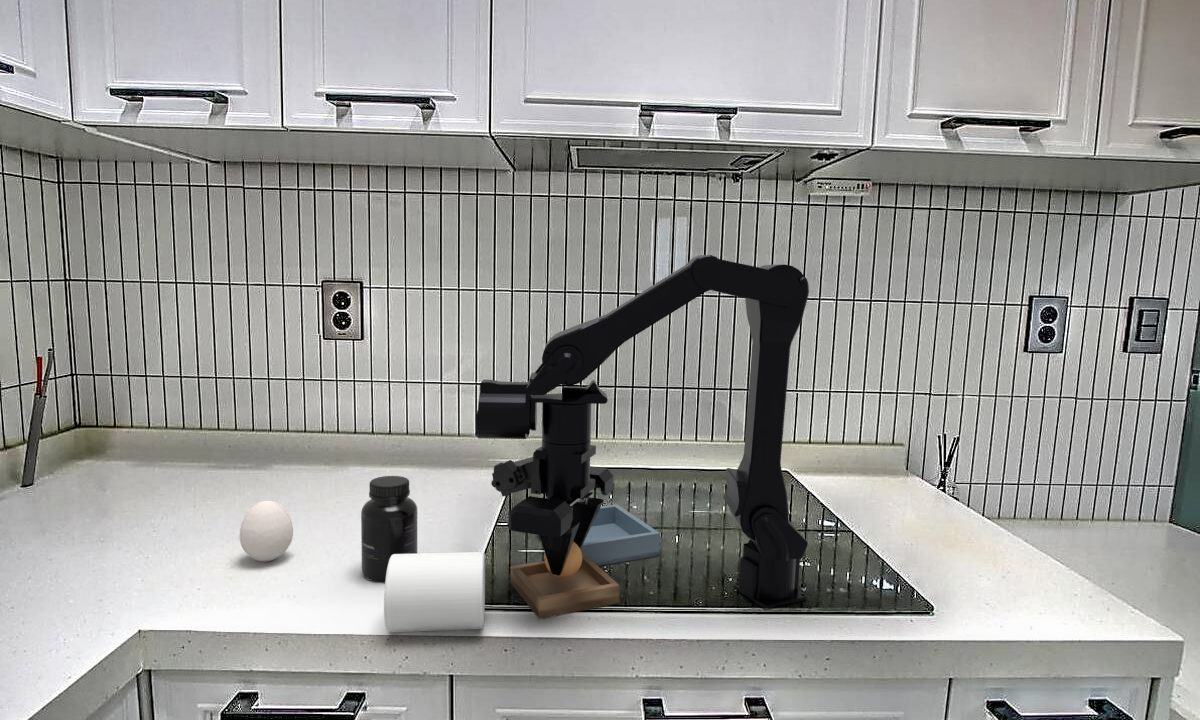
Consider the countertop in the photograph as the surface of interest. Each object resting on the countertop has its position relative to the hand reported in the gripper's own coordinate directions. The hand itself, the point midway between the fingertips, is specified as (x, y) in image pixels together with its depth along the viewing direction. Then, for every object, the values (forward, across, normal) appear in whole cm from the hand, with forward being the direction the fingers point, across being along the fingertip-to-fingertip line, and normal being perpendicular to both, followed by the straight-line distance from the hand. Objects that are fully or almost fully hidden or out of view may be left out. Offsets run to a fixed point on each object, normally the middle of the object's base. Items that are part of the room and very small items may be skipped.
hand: (564, 566), depth 86 cm
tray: (+3, 0, 0) cm, 3 cm away
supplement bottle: (+4, +3, -23) cm, 23 cm away
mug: (+4, +11, -11) cm, 15 cm away
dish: (+3, -16, -2) cm, 16 cm away
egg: (+4, +6, -40) cm, 40 cm away
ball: (-1, 0, 0) cm, 1 cm away
